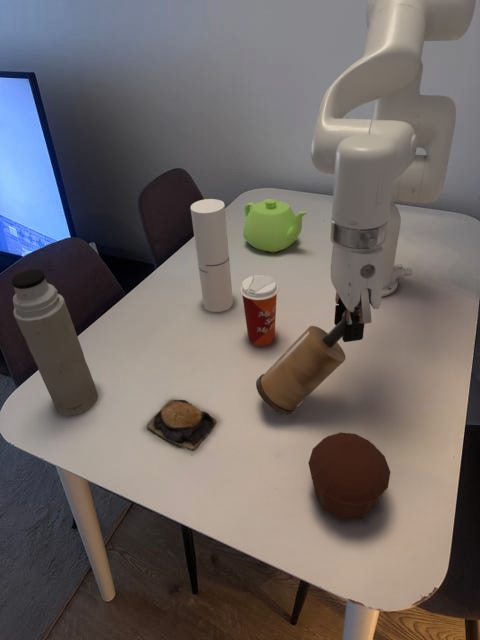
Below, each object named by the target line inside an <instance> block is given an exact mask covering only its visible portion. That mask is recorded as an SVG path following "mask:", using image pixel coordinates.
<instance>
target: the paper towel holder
mask: <svg viewBox="0 0 480 640" xmlns="http://www.w3.org/2000/svg"><path fill="white" fill-rule="evenodd" d="M355 314H360V310H355V311H354V312H353V315H355ZM341 319H342V320H341V321H340V322H339V323H338V324H337V325H336V326H335V325H334V327H333V328H332V329H331V330H330V331H329V332H327V331H325V330H323V329H322V328H321V327H318V326H316V325H309V327H307V329H306V330H305V331H304V332H303V333H302V334H301V335H300V336H299V337H298V338H297V339H296V340H295V342H293V343H292V345H290V347H288V348H287V350H286V351H285V352H284V353H283V354H282V355H281V356H280V357H279V358H278V359H277V360H276V361H275V362H274V363H273V365H272V366H270V368H269V369H268V370H266V372H265V373H262V374H261V375H260V376H259V377H258V378H257V379H256V381H255V386H256V390H257V393H258V395H259V396H260V398H261V400H262V401H263V402H264V403H265V404H266V405H267V406H268V407H269V408H270V409H272V410H273V411H274V412H276V413H277V414H279V415H283V416H290V415H292V414H293V413H295V411H296V410H297V409H298V406H299V405H300V404H302V403H303V401H305V399H306V398H308V396H310V395H311V394H312V393H313V392H314V391H315V390H316V389H317V388H318V387H319V386H320V385H321V384H322V383H323V382H324V381H325V380H326V379H327V378H328V377H329V376H330V375H332V374H333V373H334V372H335V370H337V369H338V368H339V367H340V366H341V365H342V364H343V363H344V362H345V361H346V359H347V358H346V354H345V351H344V349H343V348H342V346H341V345H340V343H338V342H339V341H340V340H341V339H342V338H343V327H344V321H346V320H347V309H346V310H345V311H344V312H343V313H342V317H341Z"/></svg>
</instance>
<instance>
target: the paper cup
mask: <svg viewBox="0 0 480 640" xmlns="http://www.w3.org/2000/svg"><path fill="white" fill-rule="evenodd" d="M239 292H240V294H241V295H242V296H241V297H242V302H243V303H242V304H243V309H244V318H245V323H246V329H247V331H246V332H247V338H248V340H249V342H250V344H252V345H254V346H258V347H264V346H265V347H266V346H268V345H270V344H272V343H273V342H274V339H275V332H276V318H277V317H276V315H277V298H278V292H279V286H278V283H277V282H276V280H275V279H274V278H273V277H271V276H269V275H266V274H254V275H251V276H248V277H246V278H245V279H243V281H242V283H241V285H240V288H239Z"/></svg>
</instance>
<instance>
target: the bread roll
mask: <svg viewBox="0 0 480 640" xmlns="http://www.w3.org/2000/svg"><path fill="white" fill-rule="evenodd" d="M216 424H217V419H216V418H215V417H213V416H211V414H209V412H206V411H203V410H200V409H199V408H198V407H197V406H195V405H193V404H192V403H190V402H188V400H186V399H170V400H168V401H167V402H166V404H164V405H163V406H162V408H161V409H159V411H158V412H157V413H156V414H155V415H154V416H153V417H152V418H151V419H150V420H149V422H148V423H147V424H146V428H147V430H149V431H150V432H153V433H154V434H155V435H157V436H159V437H160V438H162V439H164V440H166V441H169V442H170V443H173V444H175V445H177V446H179V447H180V446H181V447H183V448H185V449H187V450H189V451H195V450H196V449H197V448H199V446H200V445H201V443H202V442H203V441H204V440H205V439H206V436H207V435H209V434H210V433H211V432H212V431H211V430H212V429H213V428H214V426H215V425H216Z"/></svg>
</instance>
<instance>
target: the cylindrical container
mask: <svg viewBox="0 0 480 640" xmlns="http://www.w3.org/2000/svg"><path fill="white" fill-rule="evenodd" d="M190 214H191V221H192V230H193V237H194V245H195V252H196V258H197V268H198V274H199V282H200V290H201V296H202V297H201V298H202V304H203V307H204V309H205V310H206V311H208V312H210V313H211V312H212V313H223V312H225V311H228V310H229V309H231V308H232V307H233V304H234V298H233V297H234V296H233V286H232V277H231V276H232V274H231V263H230V253H229V239H228V228H227V227H228V226H227V217H226V205H225V202H224V201H223V200H220V199H216V198H204V199H201V200H197V201H195V202H193V203H191V205H190Z"/></svg>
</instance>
